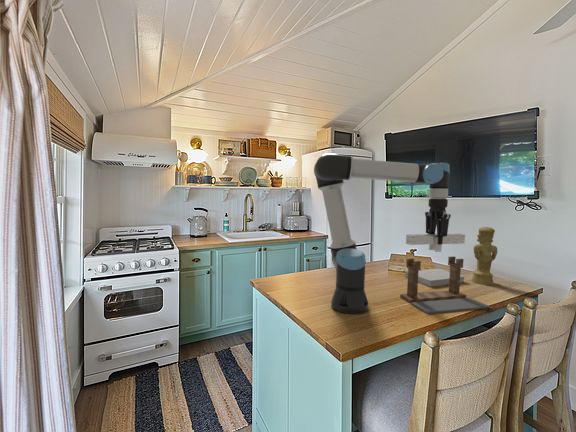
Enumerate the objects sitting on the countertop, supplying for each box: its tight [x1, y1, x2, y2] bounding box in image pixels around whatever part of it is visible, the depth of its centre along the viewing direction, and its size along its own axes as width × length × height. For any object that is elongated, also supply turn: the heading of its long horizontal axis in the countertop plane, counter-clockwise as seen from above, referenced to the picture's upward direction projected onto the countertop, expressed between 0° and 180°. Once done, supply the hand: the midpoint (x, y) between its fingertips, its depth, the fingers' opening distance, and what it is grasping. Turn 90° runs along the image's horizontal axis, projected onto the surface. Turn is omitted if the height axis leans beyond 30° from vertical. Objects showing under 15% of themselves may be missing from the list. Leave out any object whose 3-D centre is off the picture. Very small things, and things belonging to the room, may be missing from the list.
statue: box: [470, 226, 498, 286], centre depth 155 cm, size 11×10×30 cm
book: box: [404, 268, 466, 288], centre depth 160 cm, size 18×4×24 cm
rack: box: [399, 255, 467, 304], centre depth 131 cm, size 29×7×18 cm, turn 103°
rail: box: [405, 233, 466, 246], centre depth 130 cm, size 28×3×4 cm, turn 103°
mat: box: [410, 297, 491, 315], centre depth 122 cm, size 30×10×1 cm, turn 103°
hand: (435, 250), depth 130 cm, fingers closed on rail, 3 cm apart
